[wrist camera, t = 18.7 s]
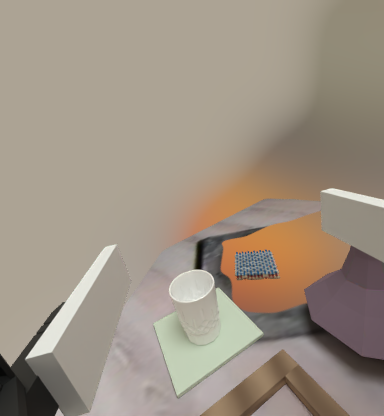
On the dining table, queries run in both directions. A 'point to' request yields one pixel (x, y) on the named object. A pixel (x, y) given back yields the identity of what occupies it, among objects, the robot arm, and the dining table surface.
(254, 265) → the woven mat
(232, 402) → the brown square frame
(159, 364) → the dining table surface
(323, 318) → the flask
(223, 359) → the sage pad
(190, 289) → the white cup
